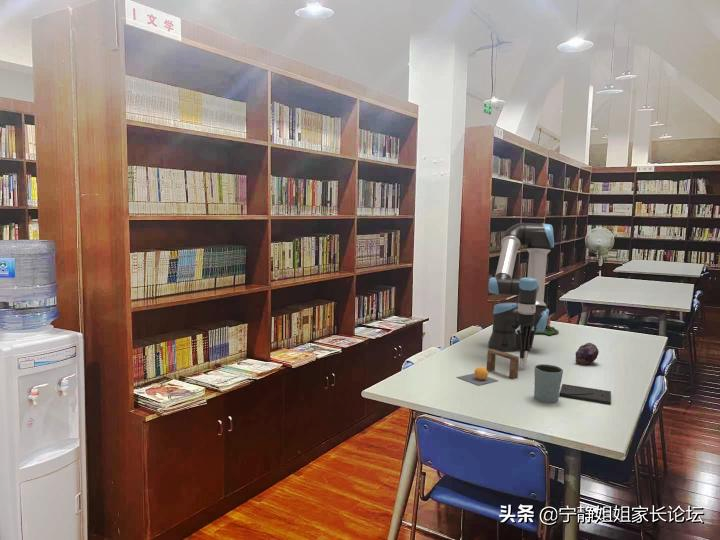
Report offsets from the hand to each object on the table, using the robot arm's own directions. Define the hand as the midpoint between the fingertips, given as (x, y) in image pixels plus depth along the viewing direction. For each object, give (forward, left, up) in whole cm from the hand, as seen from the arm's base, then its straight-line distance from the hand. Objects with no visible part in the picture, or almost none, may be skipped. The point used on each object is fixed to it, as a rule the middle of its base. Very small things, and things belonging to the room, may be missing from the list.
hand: (523, 364), depth 238 cm
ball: (+1, -28, +1) cm, 28 cm away
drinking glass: (+30, -24, -2) cm, 38 cm away
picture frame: (+35, -7, -3) cm, 36 cm away
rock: (+9, +35, -2) cm, 36 cm away
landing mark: (0, -29, -2) cm, 29 cm away
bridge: (0, -14, -2) cm, 14 cm away
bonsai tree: (-44, +67, -2) cm, 80 cm away
